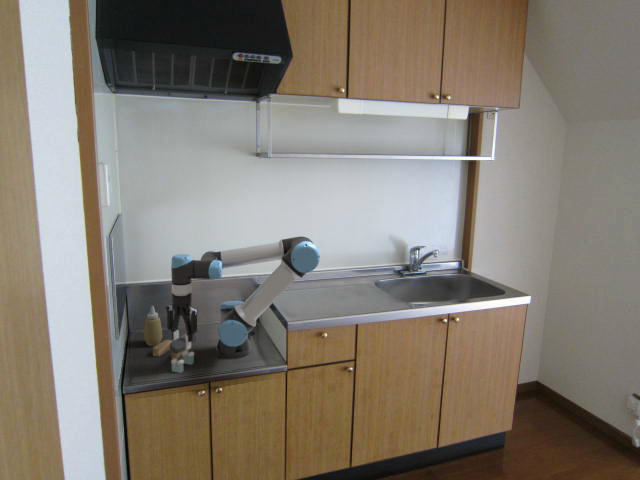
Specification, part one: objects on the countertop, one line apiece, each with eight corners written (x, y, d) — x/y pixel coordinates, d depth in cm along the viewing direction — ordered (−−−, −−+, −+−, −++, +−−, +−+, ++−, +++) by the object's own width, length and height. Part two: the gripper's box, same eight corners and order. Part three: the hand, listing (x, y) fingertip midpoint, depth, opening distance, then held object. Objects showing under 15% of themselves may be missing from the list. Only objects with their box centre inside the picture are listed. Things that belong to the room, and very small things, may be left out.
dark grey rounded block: (188, 344, 189) (184, 333, 188) (197, 341, 187) (193, 330, 187) (172, 354, 178) (167, 343, 178) (182, 351, 177) (177, 340, 176)
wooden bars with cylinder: (190, 351, 198) (190, 344, 197) (177, 360, 189) (177, 352, 189) (166, 346, 202) (166, 339, 201) (153, 355, 193) (152, 348, 192)
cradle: (184, 361, 189) (184, 350, 188) (194, 363, 188) (194, 351, 187) (171, 371, 180) (170, 359, 179) (181, 373, 179) (181, 361, 178)
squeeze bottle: (156, 348, 199) (155, 310, 196) (140, 346, 201) (138, 308, 197) (166, 341, 207) (165, 304, 204) (150, 339, 209) (149, 302, 205)
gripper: (206, 293, 179) (206, 347, 183) (168, 287, 184) (169, 340, 188) (196, 299, 172) (196, 355, 176) (156, 292, 177) (157, 347, 181)
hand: (182, 347), depth 182 cm, fingers closed on dark grey rounded block, 5 cm apart
